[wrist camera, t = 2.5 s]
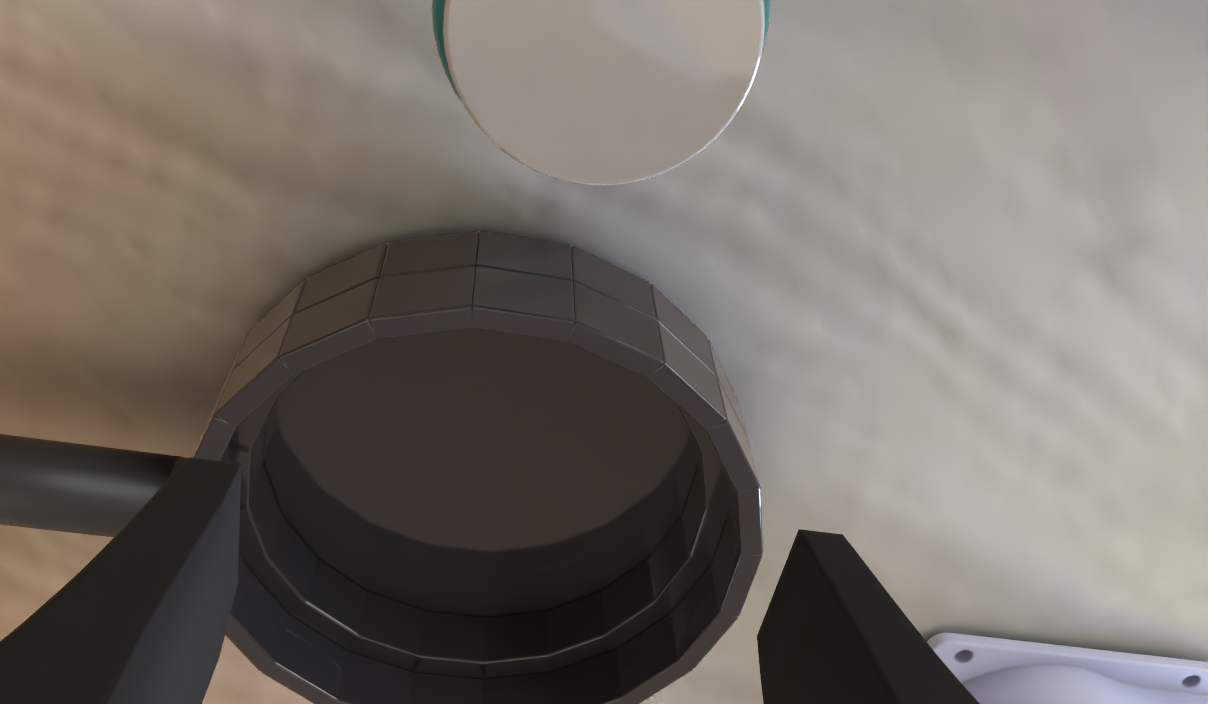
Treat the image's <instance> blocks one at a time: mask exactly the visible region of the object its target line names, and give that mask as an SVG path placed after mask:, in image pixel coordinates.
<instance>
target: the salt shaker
mask: <svg viewBox="0 0 1208 704" xmlns="http://www.w3.org/2000/svg"><path fill="white" fill-rule="evenodd" d="M769 13H770V0H432V17H433V30H434V35H435V40H436V45H437V50H438V54H439V56H440V59H441V62H442V65H443V68H444V71H445V73H446V75H447V77H448V79H449V81H450V83H451V85H452V87H453V89H454V91H455V93H456V95H457V96H458V98H459V99H460V101H461V102H462V104H463V105H464V107H465V108H466V110H467V111H468V113H469V114H470V116H471V117H472V119H473V120H474V122H475V123H476V124H477V126H478V127H479V128H480V129H481V130H482V131H483V132H484V134H485V135H486V136H487V137H488V138H489V139H490V140H491V141H492V142H493V143H494V144H496V145H497V146H498V147H499V148H500V149H501V150H502V151H503V152H505V153H506V154H508V155H509V156H511V157H512V158H514V159H515V160H516V161H518V162H519V163H521V164H523V165H525V166H527V167H529V168H531V169H533V170H535V171H537V172H539V173H542V174H545V175H547V176H550V177H553V178H555V179H559V180H564V181H568V182H572V183H578V184H587V185H618V184H625V183H633V182H637V181H640V180H644V179H648V178H652V177H654V176H657V175H660V174H662V173H665V172H667V171H670V170H672V169H673V168H675V167H677V166H679V165H681V164H683V163H685V162H686V161H688V160H689V159H691V158H692V157H694V156H695V155H697V154H698V153H699V152H701V151H702V150H704V149H705V148H706V147H707V146H708V145H709V144H710V143H711V142H712V141H714V140H715V139H716V138H717V137H718V136H719V135H720V134H721V133H722V131H723V130H724V129H725V128H726V127H727V126H728V124H729V123H730V122H731V121H732V120H733V118H734V117H735V115H736V114H737V112H738V111H739V109H740V108H741V106H742V105H743V103H744V101H745V99H746V97H747V95H748V93H749V91H750V89H751V87H752V85H753V82H754V79H755V76H756V73H757V71H758V68H759V64H760V59H761V55H762V53H763V50H764V45H765V40H766V36H767V31H768V24H769Z"/></svg>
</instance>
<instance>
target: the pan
mask: <svg viewBox="0 0 1208 704" xmlns="http://www.w3.org/2000/svg"><path fill="white" fill-rule="evenodd" d="M192 458H199V459H207V460H216V461H224V462H233V463H241V490H240V526H239V561H238V585H237V589H236V593H235V597H234V601H233V605H232V609H231V613H230V617H229V621H228V625H227V629H226V633H225V635H226V636H227V637H228V638H229V639H230V640H231V642H232V643H233V644H234V645H235V646H236V647H237V648H238V649H239V650H240V651H241V652H242V653H243V654H244V655H245V656H246V657H247V658H248V659H249V661H250V662H251V663H252V664H253V665H254V666H255V667H256V668H257V669H258V670H259V671H261V672H262V673H263V674H265V675H266V676H268V677H270V678H272V679H273V680H275V681H277V682H278V683H280V684H282V685H283V686H285V687H287V688H288V689H290V690H292V691H294V692H295V693H297V694H299V695H300V696H302V697H304V698H305V699H307V700H309V701H310V702H312V703H314V704H640V703H641V702H643V701H644V700H646V699H648V698H649V697H651V696H652V695H654V694H655V693H657V692H659V691H660V690H662V689H663V688H665V687H666V686H668V685H670V684H671V683H673V682H674V681H676V680H677V679H679V678H681V677H682V676H684V675H685V674H687V673H688V672H690V671H692V670H693V668H695V667H696V666H697V665H698V664H699V662H700V661H701V660H702V659H703V658H704V657H705V655H706V654H707V653H708V652H709V651H710V650H711V649H712V647H713V646H714V645H715V644H716V643H717V642H718V641H719V639H720V638H721V637H722V636H723V635H724V634H725V632H726V631H727V630H728V629H729V628H730V627H731V626H732V624H733V623H734V622H735V621H736V620H737V619H738V616H739V615H740V613H741V610H742V608H743V605H744V602H745V600H746V597H747V595H748V592H749V589H750V587H751V584H752V581H753V579H754V576H755V574H756V571H757V568H758V566H759V563H760V560H761V558H762V553H763V537H762V513H761V490H760V484H759V480H758V476H757V472H756V469H755V465H754V461H753V457H752V453H751V449H750V445H749V441H748V438H747V434H746V430H745V426H744V422H743V418H742V414H741V411H740V407H739V403H738V400H737V397H736V395H735V393H734V391H733V389H732V387H731V385H730V383H729V381H728V379H727V376H726V374H725V372H724V370H723V368H722V366H721V364H720V362H719V360H718V358H717V356H716V353H715V351H714V349H713V347H712V345H711V343H710V341H709V340H708V339H707V337H706V336H705V335H704V334H703V333H702V332H701V331H700V330H699V329H698V328H697V327H696V326H695V325H694V324H693V323H692V322H691V321H690V320H689V319H688V318H687V317H686V316H685V315H684V314H683V313H682V312H681V311H679V310H678V309H677V308H676V307H675V306H674V305H673V304H672V303H671V302H670V301H669V300H668V299H667V298H666V297H665V296H664V295H663V294H662V293H661V292H660V291H659V290H658V289H657V288H656V287H655V286H653V285H652V284H650V283H649V282H648V281H645V280H643V279H641V278H639V277H637V276H635V275H633V274H631V273H629V272H627V271H625V270H623V269H621V268H618V267H616V266H614V265H612V264H610V263H608V262H606V261H604V260H602V259H600V258H598V257H596V256H593V255H591V254H589V253H587V252H585V251H583V250H581V249H579V248H577V247H575V246H572V247H571V245H569V244H563V243H557V242H551V241H545V240H538V239H532V238H526V237H520V236H514V235H507V234H501V233H495V232H489V231H480V232H477V231H473V232H465V233H457V234H448V235H440V236H432V237H424V238H416V239H407V240H399V241H391V242H389V243H388V244H387V243H383V244H381V245H379V246H377V247H374V248H372V249H370V250H368V251H365V252H363V253H361V254H359V255H356V256H354V257H352V258H350V259H347V260H345V261H343V262H341V263H338V264H336V265H334V266H332V267H329V268H327V269H325V270H323V271H320V272H318V273H316V274H314V275H311V276H309V277H308V278H306V279H304V280H303V281H302V282H301V283H300V284H299V285H298V286H296V287H295V288H294V289H293V290H292V291H291V292H290V293H289V294H288V295H287V296H286V297H285V298H284V299H283V300H282V301H280V302H279V303H278V304H277V305H276V306H275V307H274V308H273V309H272V310H271V311H270V312H269V313H268V314H267V315H266V316H264V317H263V318H262V319H261V320H260V321H259V322H258V323H257V324H256V325H255V326H254V327H253V328H252V329H251V330H250V331H249V332H248V333H247V335H246V337H245V339H244V341H243V344H242V346H241V348H240V350H239V352H238V354H237V356H236V359H235V361H234V363H233V365H232V367H231V369H230V372H229V374H228V376H227V378H226V380H225V382H224V384H223V387H222V389H221V391H220V393H219V395H218V398H217V400H216V402H215V405H214V407H213V409H212V412H211V414H210V417H209V419H208V421H207V424H206V426H205V428H204V431H203V433H202V436H201V438H200V440H199V443H198V445H197V447H196V450H195V452H194V454H193V457H192Z"/></svg>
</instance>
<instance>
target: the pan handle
mask: <svg viewBox="0 0 1208 704" xmlns="http://www.w3.org/2000/svg"><path fill="white" fill-rule="evenodd" d="M187 459H189V458H184V457H179V456H171V455H163V454H155V453H147V452H139V451H131V450H123V449H115V448H107V447H99V446H91V445H83V444H75V443H67V442H59V441H51V440H43V439H35V438H27V437H19V436H11V435H3V434H0V524H1V525H10V526H19V527H28V528H37V529H46V530H54V531H63V532H72V533H81V534H90V535H99V536H107V537H115V536H116V535H117V534H118V533H119V532H120V531H121V530H122V529H123V528H124V527H125V526H126V525H127V524H128V523H129V522H130V521H131V520H132V519H133V518H134V517H135V515H136V514H137V513H138V512H139V511H140V510H141V509H142V508H143V507H144V506H145V505H146V504H147V502H148V501H149V500H150V499H151V498H152V497H153V496H154V495H155V493H156V492H157V491H158V490H159V489H160V488H161V487H162V485H163V484H164V483H165V482H166V481H167V480H168V478H169V477H170V476H171V475H172V474H173V472H174V471H175V470H176V469H177V468H178V466H179V465H180V464H181V463H183V462H184V461H186V460H187Z"/></svg>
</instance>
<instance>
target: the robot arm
mask: <svg viewBox="0 0 1208 704" xmlns="http://www.w3.org/2000/svg"><path fill="white" fill-rule="evenodd" d="M240 490H241V463H233V462H224V461H216V460H207V459H199V458H189V459H187V460H186V461H184V462H183V463H181V464H180V465H179V466H178V468H177V469H176V470H175V471H174V472H173V474H172V475H171V476H170V477H169V478H168V480H167V481H166V482H165V483H164V484H163V485H162V487H161V488H160V489H159V490H158V491H157V492H156V493H155V495H154V496H153V497H152V498H151V499H150V500H149V501H148V502H147V504H146V505H145V506H144V507H143V508H142V509H141V510H140V511H139V512H138V513H137V514H136V515H135V517H134V518H133V519H132V520H131V521H130V522H129V523H128V524H127V525H126V526H125V527H124V528H123V529H122V530H121V531H120V532H119V533H118V534H117V535H116V536H115V537H114V538H113V539H112V540H111V541H110V542H109V543H108V544H107V545H106V546H105V547H104V548H103V549H102V550H101V551H100V552H99V553H98V554H97V555H96V556H95V557H94V558H93V559H92V560H91V561H90V562H89V563H88V564H87V565H86V566H85V567H84V568H83V569H82V570H81V571H80V572H79V573H78V574H77V575H76V576H75V577H74V578H73V579H72V580H71V581H70V582H68V583H67V584H66V585H65V586H64V587H63V588H62V589H61V590H59V591H58V592H57V593H56V594H55V595H54V596H53V597H52V598H50V599H49V600H48V601H47V602H46V603H45V604H44V605H43V606H42V607H40V608H39V609H38V610H37V611H36V612H35V613H34V614H33V615H31V616H30V617H29V618H28V619H27V620H26V621H25V622H23V623H22V624H21V625H20V626H19V627H17V628H16V629H15V630H14V631H13V632H11V633H10V634H9V635H8V636H7V637H5V638H4V639H3V640H2V641H0V704H202V701H203V699H204V696H205V694H206V691H207V688H208V686H209V683H210V680H211V678H212V675H213V672H214V670H215V667H216V664H217V662H218V659H219V656H220V652H221V648H222V644H223V640H224V637H225V633H226V629H227V625H228V621H229V617H230V613H231V609H232V605H233V601H234V597H235V593H236V589H237V585H238V561H239V526H240ZM757 641H758V652H759V664H760V675H761V684H762V693H763V702H764V704H1208V662H1204V661H1195V660H1187V659H1178V658H1169V657H1160V656H1151V655H1142V654H1134V653H1125V652H1116V651H1107V650H1098V649H1089V648H1081V647H1072V646H1063V645H1054V644H1045V643H1036V642H1027V641H1019V640H1010V639H1001V638H992V637H983V636H974V635H966V634H957V633H939V634H936V635H934V636H933V637H931V638H930V639H929V640H928V641H927V642H926V641H925V639H924V638H923V637H922V636H921V634H920V633H919V632H918V631H917V630H916V628H915V627H914V626H913V624H912V623H911V622H910V621H909V619H908V618H907V617H906V616H905V614H904V613H903V612H902V611H901V609H900V608H899V607H898V605H897V604H896V603H895V602H894V600H893V599H892V598H891V596H890V595H889V594H888V592H887V591H886V590H885V589H884V587H883V586H882V585H881V583H880V582H879V581H878V579H877V578H876V577H875V576H874V574H873V573H872V572H871V570H870V569H869V568H868V566H867V565H866V564H865V563H864V561H863V560H862V559H861V557H860V556H859V555H858V553H857V552H856V551H855V550H854V548H853V547H852V546H851V545H850V543H849V542H848V541H847V540H846V538H845V537H844V536H843V535H842V534H833V533H825V532H816V531H808V530H798V533H797V535H796V538H795V540H794V543H793V546H792V548H791V551H790V553H789V556H788V558H787V561H786V564H785V566H784V569H783V571H782V574H781V576H780V579H779V581H778V584H777V587H776V589H775V592H774V594H773V597H772V599H771V602H770V604H769V607H768V610H767V612H766V615H765V617H764V620H763V622H762V625H761V628H760V630H759V633H758V635H757ZM962 650H963V651H962ZM960 651H961V652H960Z"/></svg>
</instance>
